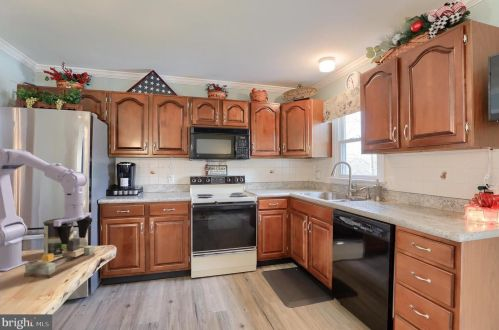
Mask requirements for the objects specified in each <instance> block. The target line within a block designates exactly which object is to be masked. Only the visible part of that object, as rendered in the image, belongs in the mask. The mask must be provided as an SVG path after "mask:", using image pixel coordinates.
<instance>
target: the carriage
mask: <svg viewBox="0 0 499 330" xmlns="http://www.w3.org/2000/svg"><path fill="white" fill-rule="evenodd" d="M80 241H81V238H74V237H73V239H70V240H69V243H68V244H66V245H67V249H66V250H63V251H62V256H61V257H63V256H68V257H77V256H79V255H81V254H83V253H84V248H80V245H81V243H80Z"/></svg>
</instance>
